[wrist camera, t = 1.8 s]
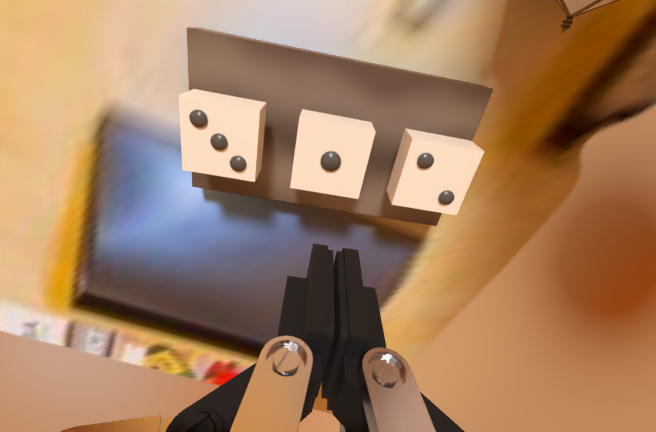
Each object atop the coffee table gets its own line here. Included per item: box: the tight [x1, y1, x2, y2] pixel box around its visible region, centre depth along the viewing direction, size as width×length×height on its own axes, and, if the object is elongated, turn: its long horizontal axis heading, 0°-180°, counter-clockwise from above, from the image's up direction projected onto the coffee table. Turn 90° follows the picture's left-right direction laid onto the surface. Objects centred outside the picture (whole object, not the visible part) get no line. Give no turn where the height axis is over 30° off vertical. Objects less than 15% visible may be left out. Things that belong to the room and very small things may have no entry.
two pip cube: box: [387, 128, 484, 215], centre depth 24 cm, size 5×5×3 cm
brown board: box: [187, 28, 493, 226], centre depth 26 cm, size 12×22×2 cm, turn 80°
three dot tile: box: [179, 89, 267, 182], centre depth 22 cm, size 5×5×3 cm
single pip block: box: [290, 109, 376, 199], centre depth 23 cm, size 5×5×3 cm
